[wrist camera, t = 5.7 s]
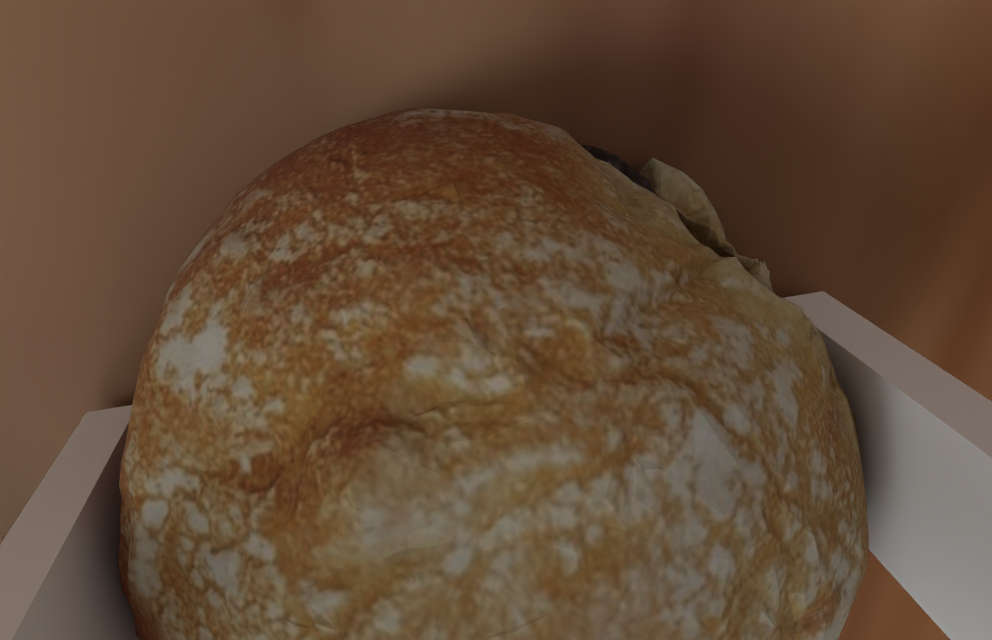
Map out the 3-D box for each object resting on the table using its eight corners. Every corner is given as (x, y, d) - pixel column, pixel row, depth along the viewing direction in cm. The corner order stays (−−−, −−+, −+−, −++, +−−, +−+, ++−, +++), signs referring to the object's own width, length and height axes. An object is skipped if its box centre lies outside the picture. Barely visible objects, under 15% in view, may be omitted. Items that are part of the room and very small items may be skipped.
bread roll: (740, 291, 18) (1120, 225, 11) (599, 814, 17) (928, 1184, 9) (262, 99, 16) (307, -174, 8) (39, 695, 14) (-174, 1070, 6)
